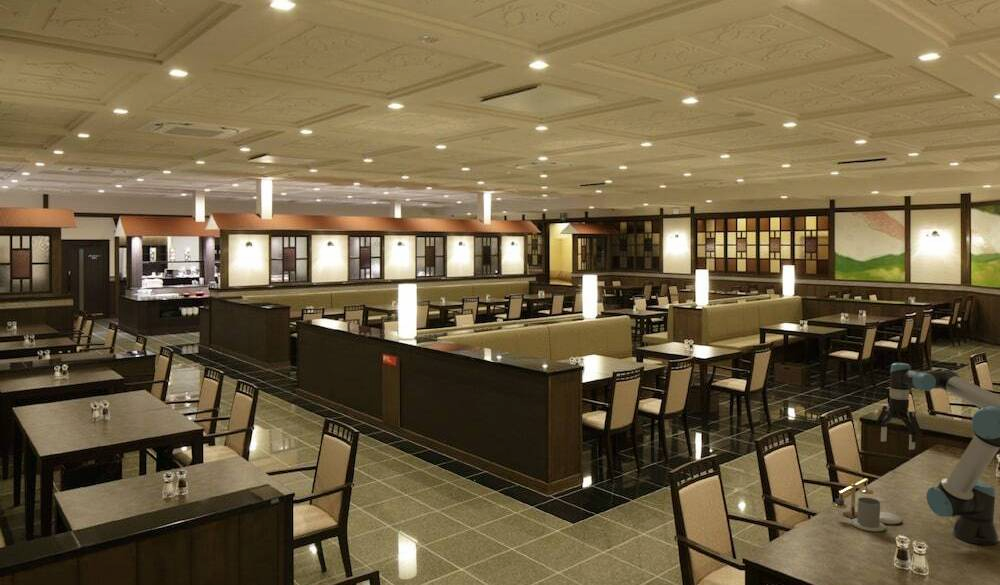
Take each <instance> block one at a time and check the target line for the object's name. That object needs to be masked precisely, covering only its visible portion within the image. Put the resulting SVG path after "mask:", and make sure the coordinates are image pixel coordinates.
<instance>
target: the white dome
mask: <svg viewBox="0 0 1000 585" xmlns="http://www.w3.org/2000/svg"><path fill="white" fill-rule="evenodd" d="M902 520H903V519H902V517H901V516H899V515H896V514H894V513H890V512H887V511H881V510H880V522H881V523H883V524H884V525H885V524H886V525H897V524H901V523H902Z"/></svg>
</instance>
